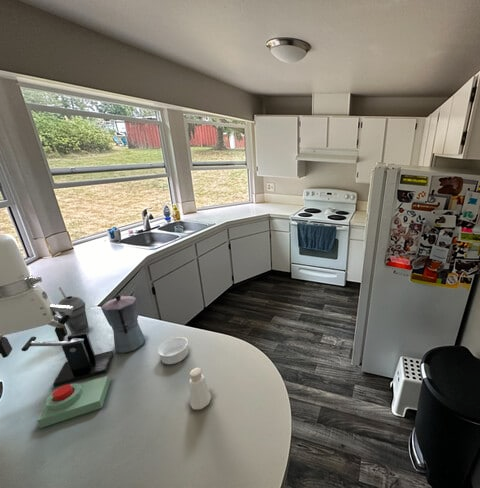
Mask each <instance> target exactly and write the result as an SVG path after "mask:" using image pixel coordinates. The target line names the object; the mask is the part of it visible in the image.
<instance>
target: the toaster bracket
mask: <svg viewBox="0 0 480 488" xmlns="http://www.w3.org/2000/svg"><path fill="white" fill-rule="evenodd" d="M72 338H84V343H83V340H81V341H76V342H72V343H67V344H63V345H62V346H61V348H62V352H63V354H64V356H65V359H66V360H67V361H65V362H64V364H63V365H62V367H61V369H60V371H59V373H58V375H57V376H56V378H55V380H54V382H53V383H52V385H53V387H54V388H56V387H60V386H64V385H68V384H71V383H73V382H77V381H80V380H81V381H82V380H84V379H87V378H91V377H95V376H99V375H101V374H106V373H107V371H108V368H109V366H110V363H111V360H112V357H113V354H114V352H113V350H108V351H105V352H101V353H97V354H95V351H94V348H93V345H92V343H91V339H90V336H89V334H88V333H87V332H85V333H80V334H75V335H72V334H71V335H67V338H66V339H67V341H71V340H72Z"/></svg>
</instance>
